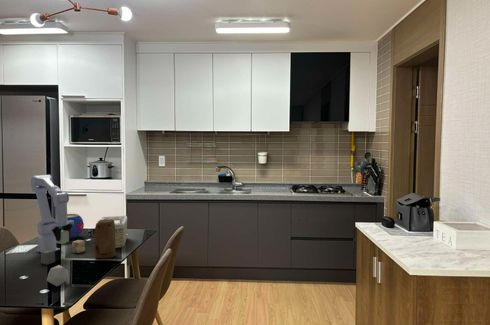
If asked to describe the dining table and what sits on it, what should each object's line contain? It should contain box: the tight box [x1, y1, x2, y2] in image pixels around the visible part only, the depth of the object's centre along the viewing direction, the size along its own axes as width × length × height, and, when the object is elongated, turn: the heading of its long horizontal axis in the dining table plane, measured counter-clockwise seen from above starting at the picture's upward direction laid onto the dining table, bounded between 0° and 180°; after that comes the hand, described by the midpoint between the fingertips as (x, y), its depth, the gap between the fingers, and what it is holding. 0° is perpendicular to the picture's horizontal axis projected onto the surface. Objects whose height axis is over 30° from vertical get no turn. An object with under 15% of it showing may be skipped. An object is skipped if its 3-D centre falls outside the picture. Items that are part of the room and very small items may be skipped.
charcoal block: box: [40, 250, 56, 265], centre depth 188 cm, size 4×4×6 cm
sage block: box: [56, 230, 70, 245], centre depth 198 cm, size 4×4×6 cm
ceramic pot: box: [59, 213, 85, 240], centre depth 235 cm, size 18×18×15 cm
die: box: [46, 264, 70, 287], centre depth 160 cm, size 8×9×10 cm
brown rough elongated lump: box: [93, 219, 116, 259], centre depth 197 cm, size 11×8×20 cm
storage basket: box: [99, 215, 128, 249], centre depth 223 cm, size 24×16×15 cm
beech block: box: [71, 239, 86, 254], centre depth 207 cm, size 4×4×6 cm
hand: (62, 239), depth 198 cm, fingers closed on sage block, 4 cm apart
